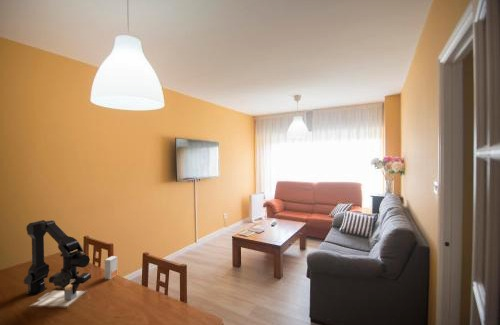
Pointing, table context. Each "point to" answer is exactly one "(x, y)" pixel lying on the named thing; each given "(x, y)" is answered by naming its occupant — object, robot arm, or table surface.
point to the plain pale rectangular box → (62, 287)
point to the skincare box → (110, 267)
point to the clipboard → (56, 299)
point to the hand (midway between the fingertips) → (70, 293)
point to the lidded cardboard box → (69, 292)
